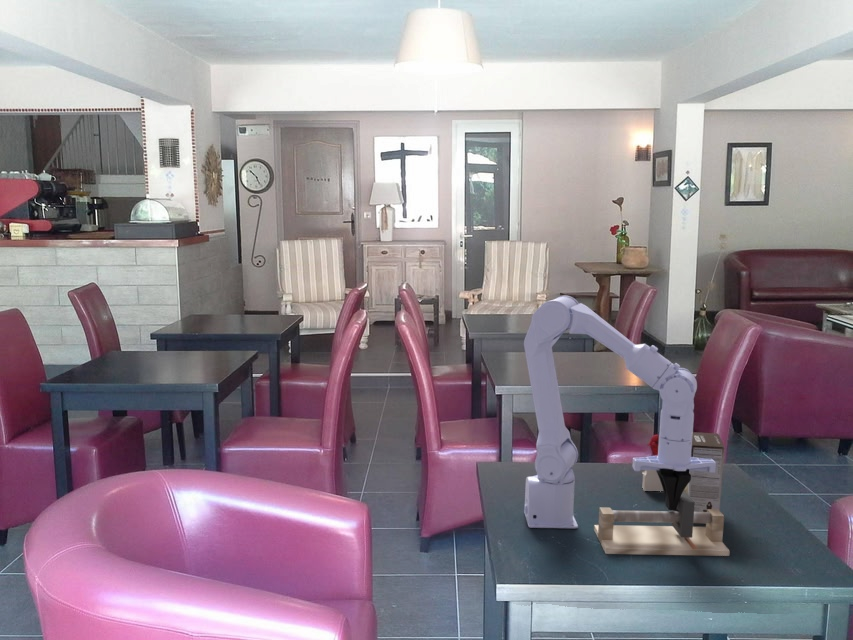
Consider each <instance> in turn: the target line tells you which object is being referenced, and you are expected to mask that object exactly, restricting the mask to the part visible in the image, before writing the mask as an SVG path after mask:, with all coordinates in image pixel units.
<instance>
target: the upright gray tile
mask: <svg viewBox="0 0 853 640" xmlns="http://www.w3.org/2000/svg"><path fill="white" fill-rule="evenodd" d="M694 505H695V502H694V501H693V500H692V499H691V498H690V496H689V495H688V494H687V493H686V492H685V491H683V493H682V495H681V497H680V499H679V502H678V505H677V508H676V510H672V511H677V512H680V523H671V526H673V527H674V528H675V530H676V531H677V533H678V534H679V535H680V537H689V538H692V533H693V527H694V523H693V519H694Z"/></svg>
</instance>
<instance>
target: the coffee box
mask: <svg viewBox="0 0 853 640" xmlns="http://www.w3.org/2000/svg"><path fill="white" fill-rule="evenodd" d="M725 451H726V446H725V445H724V443H723V441H722V439H721V437H720V435H719V433H715V432H714V433H713V432H712V433H711V432H709V433H708V432H695V431H693V436H692V449H691V457H695V458H704V459H713V460H714V461H715V462H716V468H715V473H714V472H708V471H689V473H690V474H691V481H690V482H689V483H688V485H687V486H686V487H685V489H684V491H685V492H686V493H687V494H688V495H689V496H690V498H691V499H692V500H693V501H694V502H695V505H694V512H707V509H718V510H719V511H720V512H721V498H722V497H721V496H722V486H723V485H722V484H723V475H724V463H725V462H724V461H725ZM702 524H705V525H706V523H701V525H702Z"/></svg>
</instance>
